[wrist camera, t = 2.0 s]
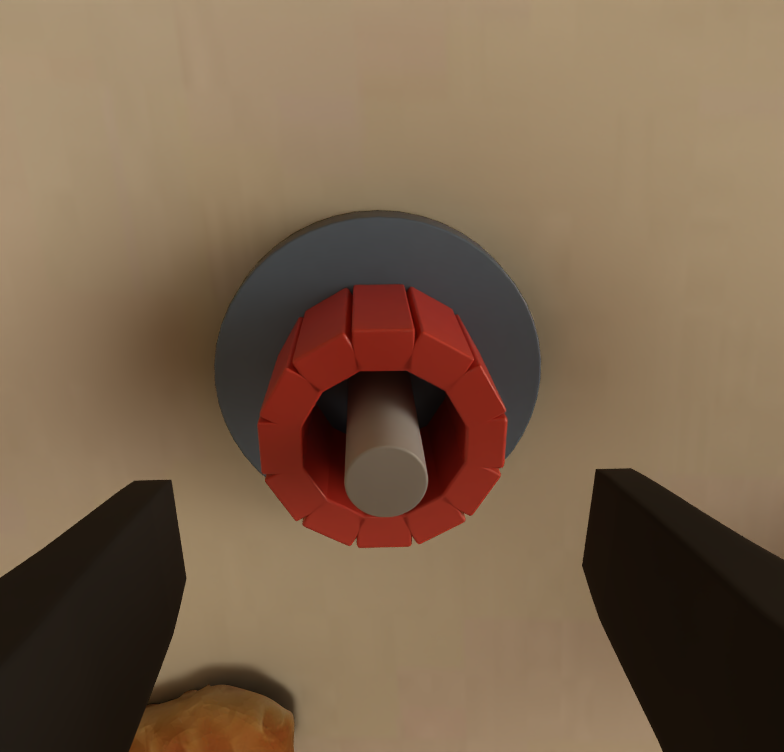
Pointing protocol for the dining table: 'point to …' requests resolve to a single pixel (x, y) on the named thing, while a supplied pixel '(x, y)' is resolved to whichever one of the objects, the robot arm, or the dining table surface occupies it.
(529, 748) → the dining table surface
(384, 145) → the dining table surface
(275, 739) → the pastry
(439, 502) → the ring
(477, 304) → the ring stand
